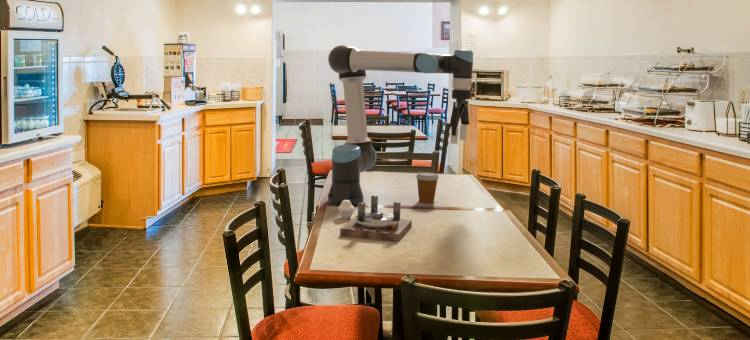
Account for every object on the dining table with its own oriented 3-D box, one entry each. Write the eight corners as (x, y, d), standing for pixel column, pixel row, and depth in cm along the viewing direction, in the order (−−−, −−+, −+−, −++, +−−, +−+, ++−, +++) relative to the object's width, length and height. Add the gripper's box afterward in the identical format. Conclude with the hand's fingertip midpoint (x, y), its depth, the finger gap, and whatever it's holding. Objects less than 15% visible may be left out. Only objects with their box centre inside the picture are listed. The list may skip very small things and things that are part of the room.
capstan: (349, 226, 201) (350, 203, 200) (362, 216, 215) (363, 194, 214) (394, 231, 197) (395, 207, 196) (405, 220, 211) (406, 198, 210)
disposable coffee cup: (436, 204, 250) (437, 176, 248) (413, 203, 251) (414, 175, 249) (438, 199, 259) (439, 172, 257) (416, 198, 261) (417, 171, 259)
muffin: (346, 220, 220) (346, 202, 219) (334, 217, 224) (334, 199, 223) (357, 217, 225) (358, 199, 223) (345, 214, 229) (346, 196, 227)
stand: (340, 235, 200) (340, 226, 199) (358, 221, 219) (358, 212, 218) (398, 241, 195) (398, 232, 194) (411, 226, 214) (411, 217, 213)
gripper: (462, 90, 226) (459, 146, 230) (478, 88, 249) (475, 139, 252) (443, 89, 229) (440, 144, 233) (460, 88, 252) (457, 138, 255)
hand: (458, 142), depth 243 cm, fingers open, 13 cm apart
